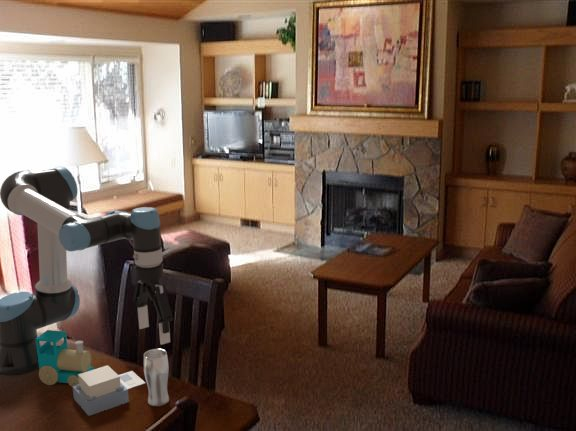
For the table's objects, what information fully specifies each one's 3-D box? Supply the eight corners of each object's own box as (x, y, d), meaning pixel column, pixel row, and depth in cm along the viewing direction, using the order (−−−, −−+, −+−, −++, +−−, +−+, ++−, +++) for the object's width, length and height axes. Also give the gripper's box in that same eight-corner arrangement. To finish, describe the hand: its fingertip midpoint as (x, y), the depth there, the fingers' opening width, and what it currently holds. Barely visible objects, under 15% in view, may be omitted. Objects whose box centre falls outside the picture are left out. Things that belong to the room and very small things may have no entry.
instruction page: (111, 378, 195) (111, 377, 195) (132, 371, 199) (132, 370, 199) (124, 390, 187) (124, 389, 187) (145, 383, 191) (145, 382, 191)
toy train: (88, 389, 189) (84, 343, 185) (39, 384, 192) (34, 339, 188) (101, 376, 196) (97, 332, 192) (53, 372, 199) (48, 329, 196)
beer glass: (142, 406, 178) (139, 358, 175) (151, 394, 185) (147, 347, 181) (166, 407, 177) (162, 359, 174) (173, 395, 184) (170, 348, 180)
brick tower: (73, 398, 183) (71, 374, 181) (112, 385, 190) (110, 361, 188) (88, 416, 174) (85, 390, 172) (128, 401, 181) (126, 376, 179)
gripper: (117, 256, 178) (124, 325, 183) (156, 277, 159) (162, 353, 164) (142, 251, 183) (147, 318, 188) (182, 271, 164) (187, 345, 168)
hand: (154, 335), depth 176 cm, fingers open, 13 cm apart
